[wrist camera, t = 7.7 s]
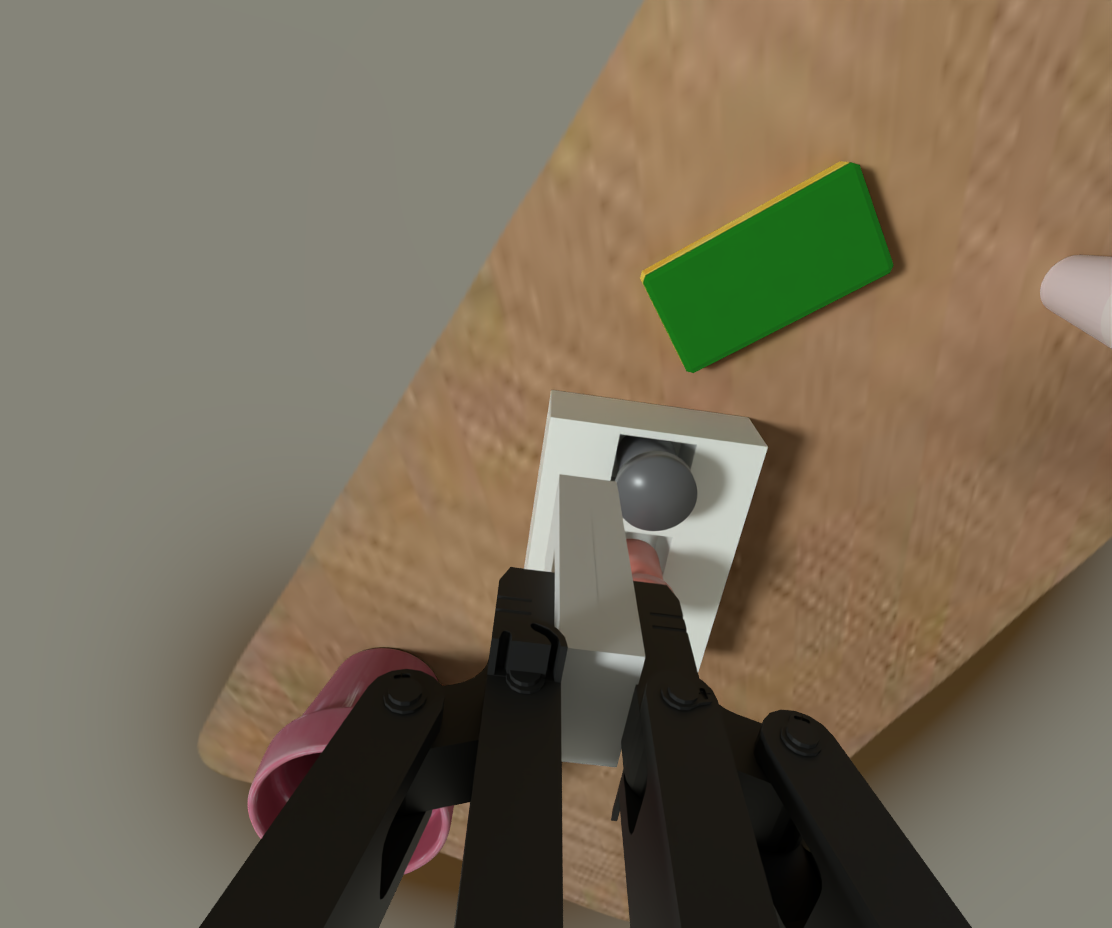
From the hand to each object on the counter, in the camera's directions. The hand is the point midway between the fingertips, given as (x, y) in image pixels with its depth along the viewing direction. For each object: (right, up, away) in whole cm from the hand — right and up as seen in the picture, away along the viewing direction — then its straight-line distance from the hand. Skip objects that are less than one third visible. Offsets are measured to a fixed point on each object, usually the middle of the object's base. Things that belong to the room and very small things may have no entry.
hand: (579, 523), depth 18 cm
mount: (+4, -3, +34) cm, 35 cm away
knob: (+6, +2, +29) cm, 30 cm away
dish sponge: (+12, +14, +26) cm, 33 cm away
